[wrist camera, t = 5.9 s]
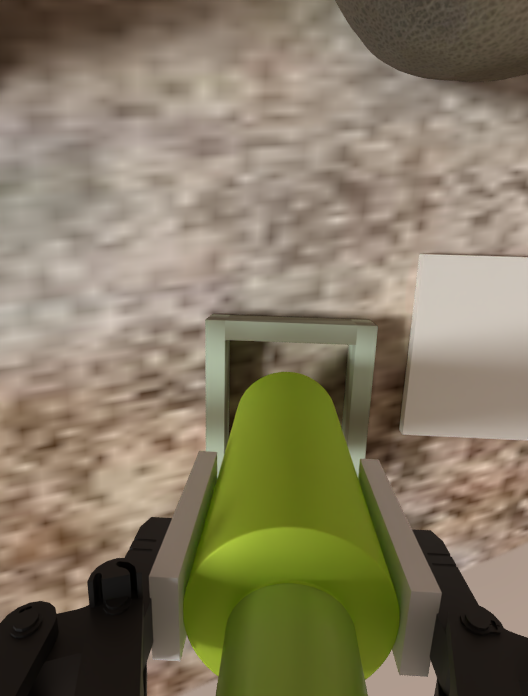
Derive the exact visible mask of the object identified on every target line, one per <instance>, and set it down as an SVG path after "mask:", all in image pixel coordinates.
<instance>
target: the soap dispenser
mask: <svg viewBox="0 0 528 696" xmlns="http://www.w3.org/2000/svg"><path fill="white" fill-rule="evenodd" d="M183 620H184V626H185V630H186V633H187V636H188V639H189V641H190V643H191V645H192V647H193V649H194V651H195V652H196V654H197V655H198V657H199V658H200V659H201V660H202V662H203V663H204V664H205V665H206V666H207V667H208V668H209V669H210V670H211V671H212V672H213V673H215V674H216V675H217V676H218V683H217V690H216V696H368V694H367V689H366V684H365V680H366V679H367V678H368V677H370V676H371V675H372V674H373V673H374V672H375V671H376V670H377V669H378V668H379V667H380V666H381V665H382V664H383V662H384V661H385V660H386V658H387V657H388V655H389V654H390V652H391V650H392V648H393V646H394V643H395V641H396V638H397V634H398V629H399V621H400V612H399V604H398V599H397V595H396V592H395V589H394V586H393V583H392V580H391V577H390V574H389V571H388V568H387V565H386V562H385V559H384V556H383V553H382V549H381V546H380V543H379V540H378V537H377V534H376V531H375V528H374V525H373V522H372V519H371V516H370V513H369V510H368V507H367V504H366V501H365V498H364V495H363V492H362V489H361V486H360V483H359V480H358V477H357V474H356V471H355V468H354V465H353V461H352V458H351V455H350V452H349V449H348V446H347V443H346V440H345V437H344V434H343V431H342V428H341V425H340V422H339V419H338V416H337V413H336V410H335V407H334V404H333V401H332V399H331V397H330V396H329V394H328V393H327V391H326V390H325V389H324V388H323V387H322V386H321V385H320V384H319V383H318V382H316V381H315V380H313V379H311V378H309V377H307V376H305V375H302V374H298V373H293V372H279V373H273V374H270V375H267V376H264V377H262V378H260V379H259V380H257V381H256V382H254V383H253V384H252V385H251V386H250V387H249V388H248V389H247V390H246V391H245V393H244V394H243V396H242V398H241V400H240V402H239V404H238V408H237V411H236V415H235V418H234V422H233V425H232V429H231V432H230V436H229V439H228V443H227V446H226V450H225V454H224V457H223V461H222V464H221V468H220V471H219V475H218V478H217V482H216V485H215V489H214V492H213V496H212V499H211V503H210V506H209V510H208V513H207V517H206V520H205V524H204V527H203V531H202V534H201V538H200V541H199V545H198V549H197V552H196V556H195V559H194V563H193V566H192V570H191V573H190V577H189V580H188V584H187V587H186V591H185V595H184V601H183Z"/></svg>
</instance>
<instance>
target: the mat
mask: <svg viewBox="0 0 528 696" xmlns="http://www.w3.org/2000/svg"><path fill="white" fill-rule="evenodd" d="M399 430H400V432H401V433H402V435H421V436H442V437H464V438H485V439H506V440H528V257H502V256H469V255H436V254H420V255H419V264H418V272H417V281H416V289H415V298H414V307H413V315H412V324H411V332H410V341H409V349H408V358H407V366H406V375H405V384H404V392H403V401H402V409H401V418H400V426H399Z"/></svg>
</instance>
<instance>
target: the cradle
mask: <svg viewBox="0 0 528 696" xmlns="http://www.w3.org/2000/svg"><path fill="white" fill-rule="evenodd" d="M205 329H206V451H209V452H217V478H218V475H219V471H220V468H221V464H222V461H223V457H224V454H225V450H226V446H227V443H228V439H229V388H230V340H240V341H266V342H292V343H318V344H343V345H348V358H347V370H346V382H345V395H344V407H343V419H342V431H343V434H344V437H345V440H346V443H347V446H348V449H349V452H350V455H351V458H352V461H353V465H354V468H355V471H356V474H357V477H358V475H359V464H360V459H365V453H366V443H367V433H368V423H369V412H370V402H371V392H372V382H373V371H374V361H375V351H376V341H377V330H378V326H377V325H375V324H374V323H373V322H371V321H370V320H362V319H335V318H308V317H280V316H253V315H226V314H212V315H211V316H210V317H208V318H207V319H206V320H205Z"/></svg>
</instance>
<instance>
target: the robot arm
mask: <svg viewBox="0 0 528 696" xmlns="http://www.w3.org/2000/svg"><path fill="white" fill-rule="evenodd" d="M358 480H359V483H360V486H361V489H362V492H363V495H364V498H365V501H366V504H367V507H368V510H369V513H370V516H371V519H372V522H373V525H374V528H375V531H376V534H377V537H378V540H379V543H380V546H381V549H382V553H383V556H384V559H385V562H386V565H387V568H388V571H389V574H390V577H391V580H392V583H393V586H394V589H395V592H396V595H397V599H398V604H399V612H400V621H399V629H398V634H397V638H396V641H395V643H394V646H393V648H392V651H393V654H394V657H395V661H396V665H397V668H398V672H399V675H410V676H411V675H412V676H427V677H428V673H429V667H430V661H431V662H432V665H433V668H434V670H435V673H436V676H437V683H436V688H435V694H434V696H528V638H527V637H524V636H521V635H518V634H515V633H513V632H510V631H508V630H506V629H504V628H503V626H502V624H501V622H500V621H499V620H498V619H497V618H496V617H495V616H494V615H493V614H492V613H491V612H489V611H488V610H486V609H485V608H483V607H481V606H479V605H478V603H477V601H476V599H475V598H474V596H473V594H472V592H471V591H470V589H469V587H468V585H467V583H466V582H465V580H464V578H463V576H462V574H461V573H460V571H459V569H458V567H456V564H455V562H454V560H453V558H452V557H450V553H449V551H448V550H447V548H446V546H445V544H444V542H443V541H442V540H441V539H440V538H438V537H437V536H436V535H435V534H434V533H433V532H432V531H431V530H412V529H411V527H410V525H409V523H408V520H407V518H406V516H405V514H404V512H403V510H402V508H401V506H400V504H399V502H398V499H397V497H396V495H395V493H394V491H393V489H392V487H391V485H390V483H389V480H388V478H387V476H386V474H385V472H384V470H383V468H382V466H381V464H380V461H379V459H360V464H359V475H358ZM216 482H217V452H209V451H199V453H198V455H197V458H196V460H195V463H194V465H193V468H192V470H191V473H190V475H189V478H188V480H187V483H186V485H185V488H184V490H183V493H182V495H181V498H180V500H179V503H178V505H177V508H176V510H175V513H174V515H173V518H159V517H151V518H150V519H149V520H148V521H146V522H145V523H144V524H143V525H142V526H141V527H140V529H139V531H138V533H137V535H136V536H135V538H134V541H133V542H132V544H131V546H130V550H128V552H127V554H126V556H125V558H116V559H113V560H110V561H107V562H105V563H103V564H102V565H100V566H98V567H97V568H96V569H95V570H94V571H93V572H92V573H91V575H90V577H89V579H88V582H87V583H88V594H89V604H90V605H88V606H86V607H83V608H80V609H77V610H72V611H68V612H64V613H59V614H56V609H55V607H54V606H53V605H51V604H50V603H48V602H43V601H38V602H32V603H28V604H26V605H23V606H21V607H18V608H17V609H16V610H14V611H13V612H11V613H10V614H8V615H7V616H6V617H5V619H4V620H3V621H2V622H1V623H0V696H147V659H148V656H149V653H150V650H151V647H152V654H153V659H154V660H170V661H180V660H181V656H182V652H183V648H184V643H185V639H186V635H187V633H186V630H185V626H184V620H183V601H184V595H185V591H186V587H187V584H188V580H189V577H190V573H191V570H192V566H193V563H194V559H195V556H196V552H197V549H198V545H199V541H200V538H201V534H202V531H203V527H204V524H205V520H206V517H207V513H208V510H209V506H210V503H211V499H212V496H213V492H214V489H215V485H216Z"/></svg>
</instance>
